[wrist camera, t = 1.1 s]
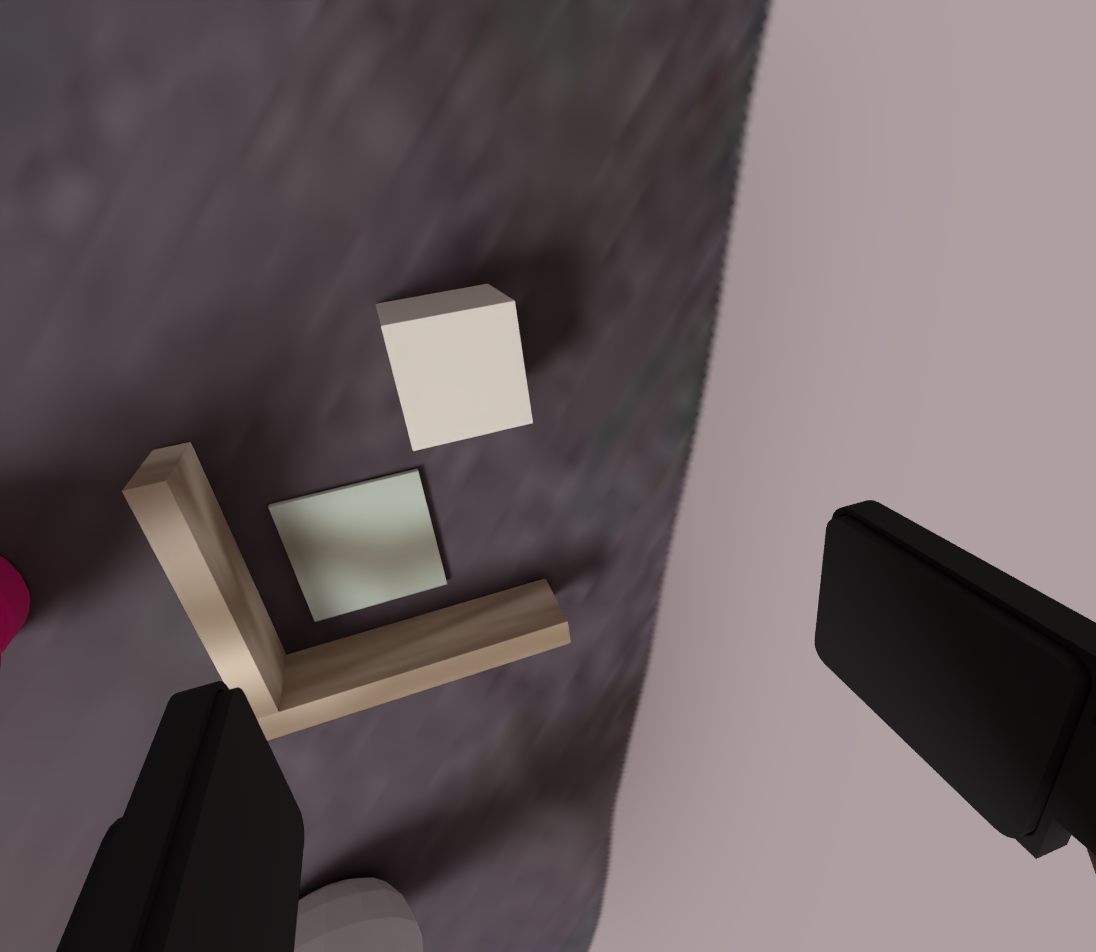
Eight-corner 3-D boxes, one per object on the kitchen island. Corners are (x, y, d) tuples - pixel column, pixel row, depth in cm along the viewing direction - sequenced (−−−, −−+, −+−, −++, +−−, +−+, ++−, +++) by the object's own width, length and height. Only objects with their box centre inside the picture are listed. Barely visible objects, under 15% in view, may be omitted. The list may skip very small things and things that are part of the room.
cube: (375, 303, 25) (380, 325, 21) (487, 283, 26) (515, 300, 22) (403, 412, 28) (413, 452, 23) (505, 389, 29) (533, 424, 24)
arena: (152, 449, 25) (121, 490, 21) (513, 372, 28) (536, 397, 25) (266, 683, 31) (256, 744, 28) (548, 598, 35) (570, 642, 31)
